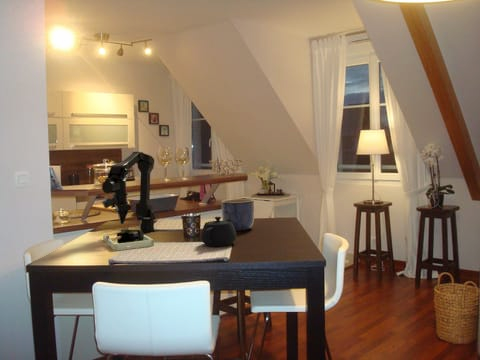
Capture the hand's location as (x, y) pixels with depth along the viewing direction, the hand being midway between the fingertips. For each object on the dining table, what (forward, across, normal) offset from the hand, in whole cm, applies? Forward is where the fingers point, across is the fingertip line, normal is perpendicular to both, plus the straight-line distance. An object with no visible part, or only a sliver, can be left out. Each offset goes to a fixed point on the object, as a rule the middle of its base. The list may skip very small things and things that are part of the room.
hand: (122, 223), depth 228 cm
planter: (+8, +9, +57) cm, 58 cm away
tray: (+8, +15, 0) cm, 17 cm away
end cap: (+8, +14, 0) cm, 16 cm away
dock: (+8, -2, 0) cm, 8 cm away
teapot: (+8, +38, +34) cm, 52 cm away
